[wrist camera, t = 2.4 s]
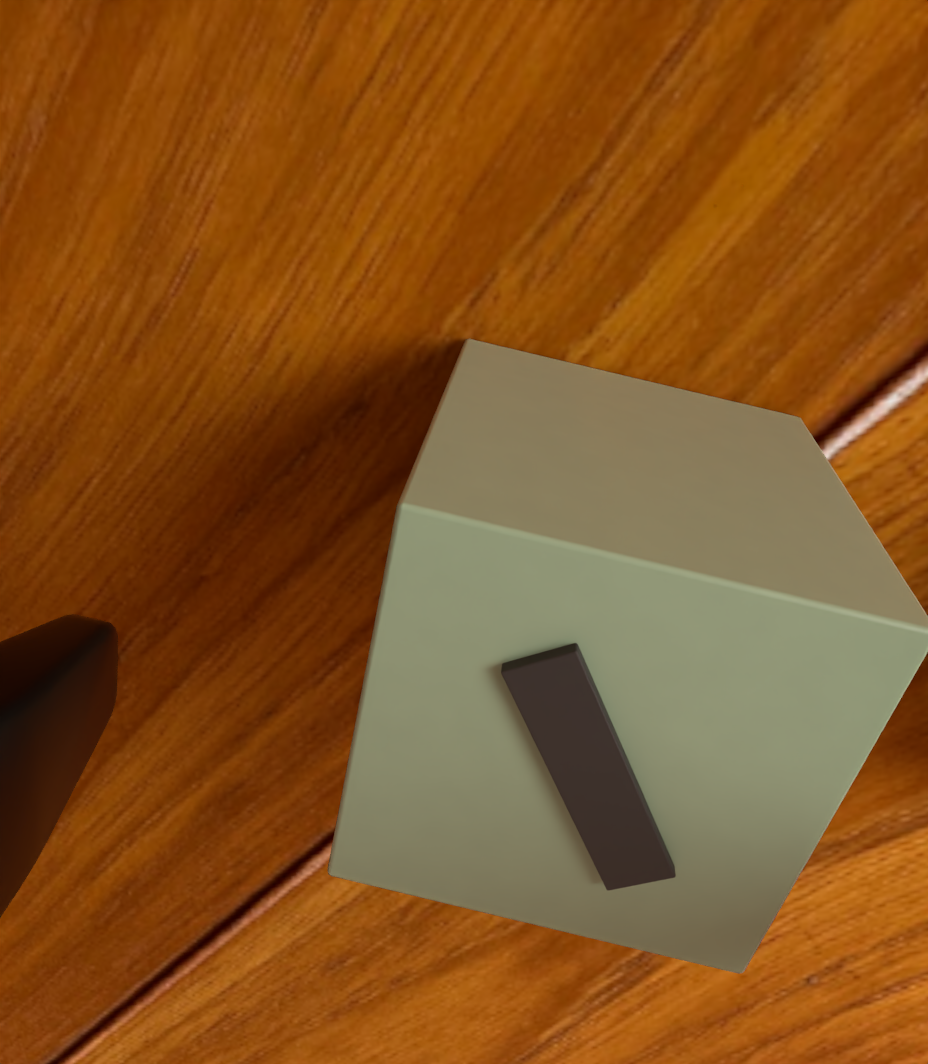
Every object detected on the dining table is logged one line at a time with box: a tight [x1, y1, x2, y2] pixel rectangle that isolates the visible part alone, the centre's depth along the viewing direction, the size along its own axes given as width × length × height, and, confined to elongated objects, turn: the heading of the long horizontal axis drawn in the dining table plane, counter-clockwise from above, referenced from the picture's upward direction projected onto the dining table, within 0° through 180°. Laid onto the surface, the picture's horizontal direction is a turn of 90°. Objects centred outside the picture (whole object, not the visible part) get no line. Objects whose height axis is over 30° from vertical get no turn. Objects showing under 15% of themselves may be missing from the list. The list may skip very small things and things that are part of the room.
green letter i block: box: [328, 339, 928, 973], centre depth 10 cm, size 4×4×5 cm
